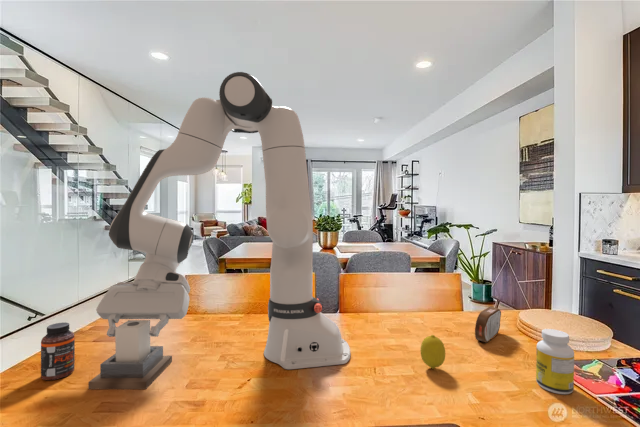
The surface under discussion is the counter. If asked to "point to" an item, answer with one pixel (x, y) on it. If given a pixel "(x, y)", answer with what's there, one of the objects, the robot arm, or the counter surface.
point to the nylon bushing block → (132, 341)
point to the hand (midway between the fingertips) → (132, 335)
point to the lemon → (433, 351)
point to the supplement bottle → (57, 352)
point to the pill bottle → (555, 362)
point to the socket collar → (131, 365)
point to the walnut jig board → (130, 379)
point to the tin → (487, 324)
